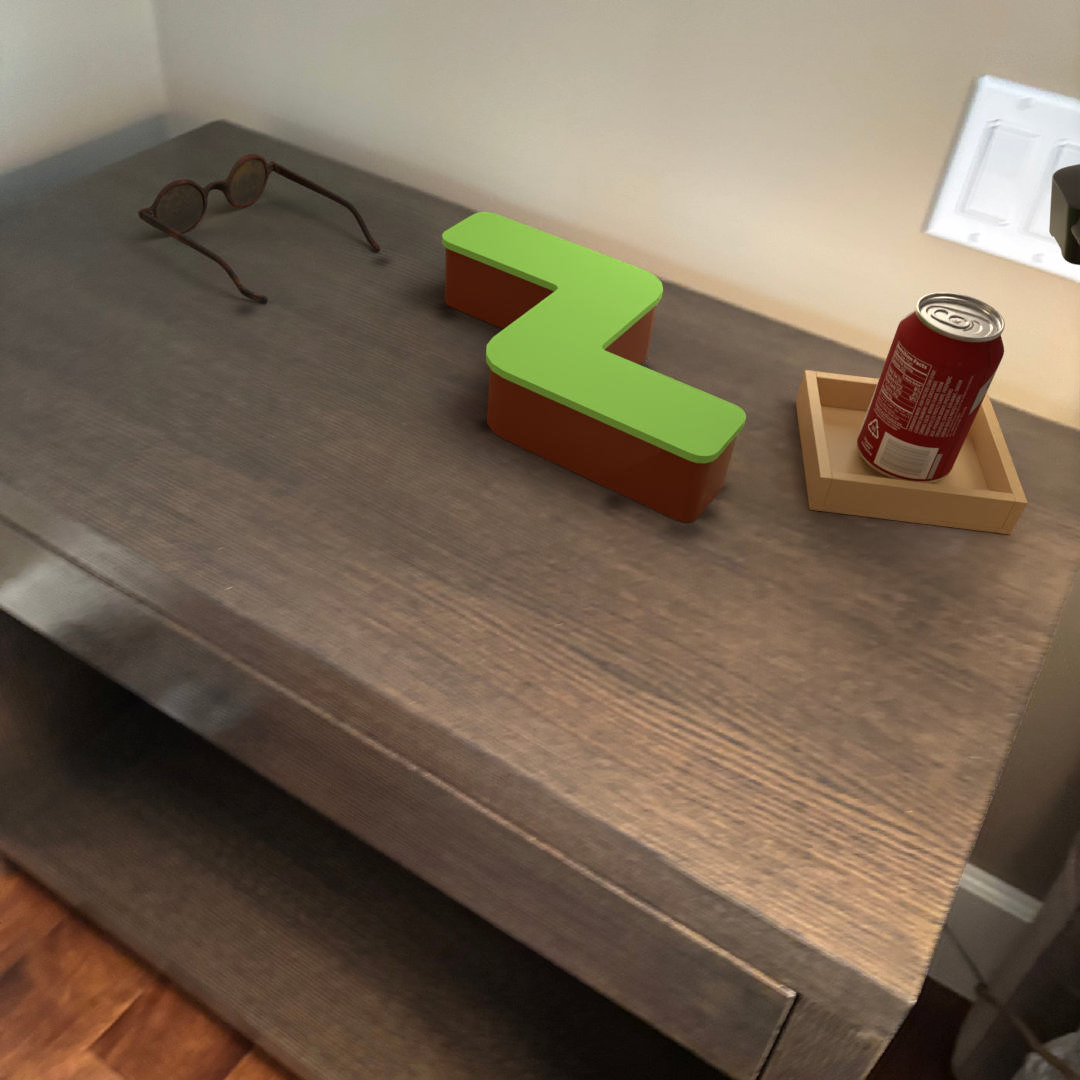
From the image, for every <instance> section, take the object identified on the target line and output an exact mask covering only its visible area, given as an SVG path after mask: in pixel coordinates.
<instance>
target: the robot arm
mask: <svg viewBox="0 0 1080 1080" xmlns="http://www.w3.org/2000/svg"><path fill="white" fill-rule="evenodd" d="M1050 189H1051V191H1050V208H1049V209H1050V210H1049V225H1048V226H1049V229H1048V231H1049V234H1050V236H1051V237H1053V238H1054V240H1055V241H1056V243H1057V245H1058V247H1059V249H1060V252H1061V255H1062V258H1063V260H1064V261H1065V262H1067V263H1068V264H1071V265H1074V266H1075V265H1077V266H1080V163H1077V164H1072V165H1069V166H1065V167H1061V168H1060V169H1058V170H1056V171H1055V172H1053V173H1052V176H1051V188H1050Z"/></svg>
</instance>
